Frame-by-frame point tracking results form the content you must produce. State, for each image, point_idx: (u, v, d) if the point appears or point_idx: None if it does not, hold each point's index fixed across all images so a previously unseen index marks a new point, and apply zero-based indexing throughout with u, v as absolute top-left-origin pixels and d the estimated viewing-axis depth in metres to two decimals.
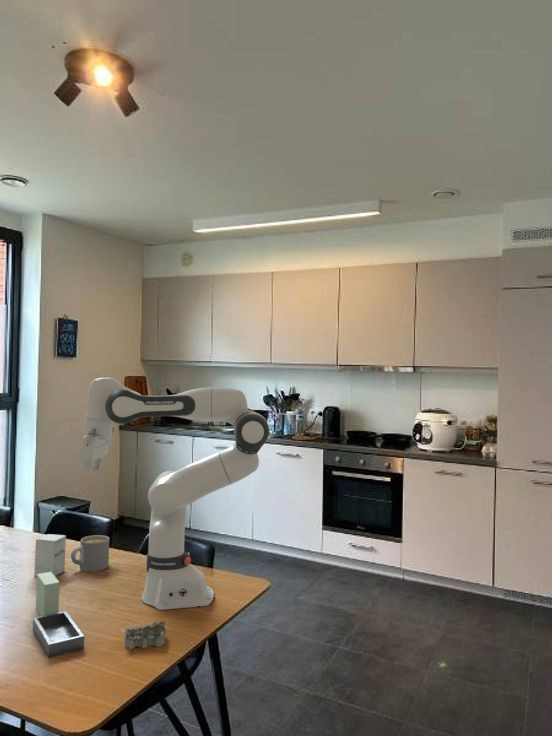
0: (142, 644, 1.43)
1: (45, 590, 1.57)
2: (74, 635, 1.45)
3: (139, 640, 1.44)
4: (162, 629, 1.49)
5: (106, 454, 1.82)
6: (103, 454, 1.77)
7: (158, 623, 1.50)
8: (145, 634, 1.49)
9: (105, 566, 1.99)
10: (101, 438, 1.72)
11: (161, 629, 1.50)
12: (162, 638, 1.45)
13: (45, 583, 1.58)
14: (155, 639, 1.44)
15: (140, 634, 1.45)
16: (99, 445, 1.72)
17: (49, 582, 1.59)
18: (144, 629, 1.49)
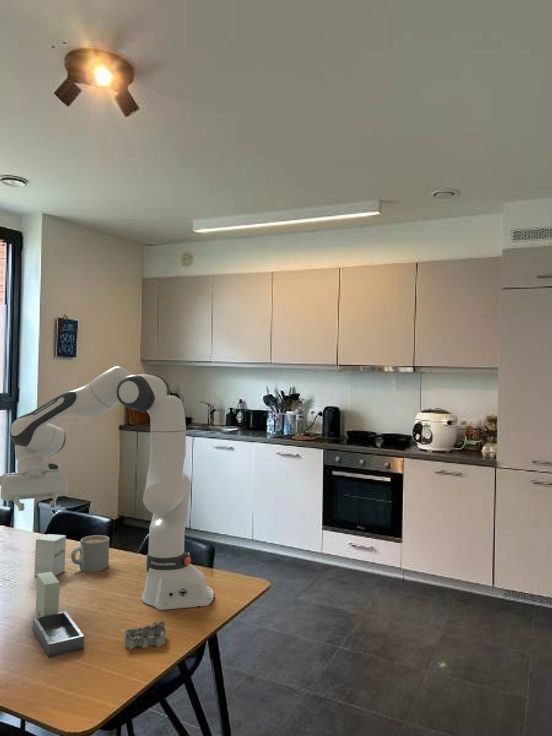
0: (142, 644, 1.43)
1: (45, 590, 1.57)
2: (74, 635, 1.45)
3: (139, 640, 1.44)
4: (162, 629, 1.49)
5: (63, 490, 1.83)
6: (49, 489, 1.80)
7: (158, 623, 1.50)
8: (145, 634, 1.49)
9: (105, 566, 1.99)
10: (26, 476, 1.80)
11: (161, 629, 1.50)
12: (162, 638, 1.45)
13: (45, 583, 1.58)
14: (155, 639, 1.44)
15: (140, 634, 1.45)
16: (29, 482, 1.79)
17: (49, 582, 1.59)
18: (144, 629, 1.49)
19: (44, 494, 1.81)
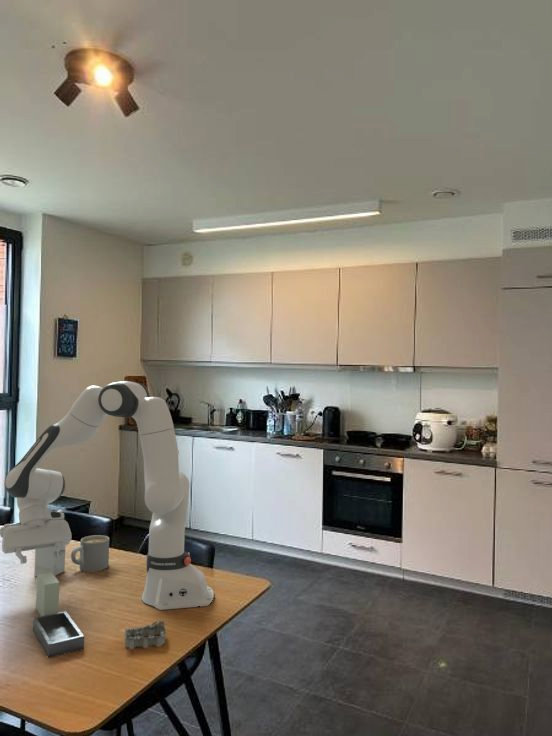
0: (142, 644, 1.43)
1: (45, 590, 1.57)
2: (74, 635, 1.45)
3: (140, 640, 1.44)
4: (162, 629, 1.50)
5: (66, 539, 1.78)
6: (51, 539, 1.76)
7: (158, 623, 1.50)
8: (145, 634, 1.49)
9: (105, 566, 1.99)
10: (28, 526, 1.75)
11: (161, 629, 1.50)
12: (162, 638, 1.45)
13: (45, 583, 1.58)
14: (155, 639, 1.44)
15: (140, 634, 1.45)
16: (32, 533, 1.75)
17: (49, 582, 1.59)
18: (144, 629, 1.49)
19: (47, 544, 1.76)
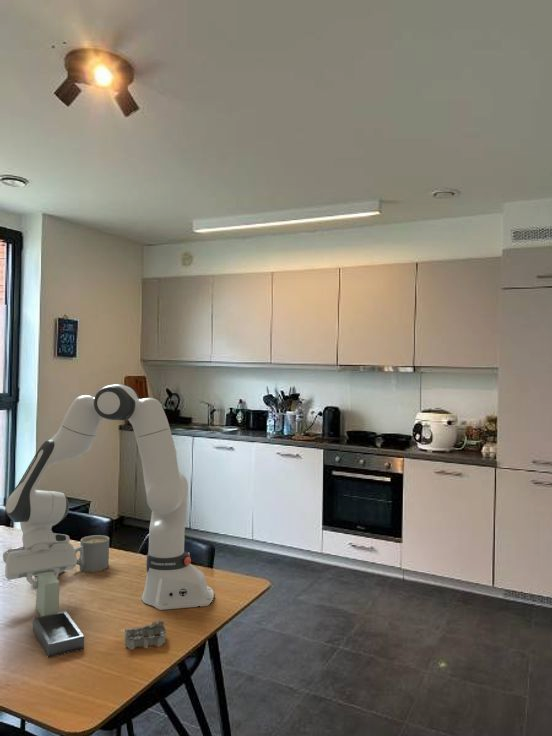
0: (143, 644, 1.43)
1: (45, 590, 1.57)
2: (74, 635, 1.45)
3: (140, 640, 1.44)
4: (161, 629, 1.50)
5: (72, 563, 1.72)
6: (56, 564, 1.69)
7: (157, 623, 1.50)
8: (144, 634, 1.49)
9: (105, 566, 1.99)
10: (33, 550, 1.69)
11: (160, 629, 1.50)
12: (163, 638, 1.45)
13: (45, 583, 1.58)
14: (156, 638, 1.44)
15: (140, 634, 1.45)
16: (36, 557, 1.68)
17: (49, 582, 1.59)
18: (143, 629, 1.49)
19: None
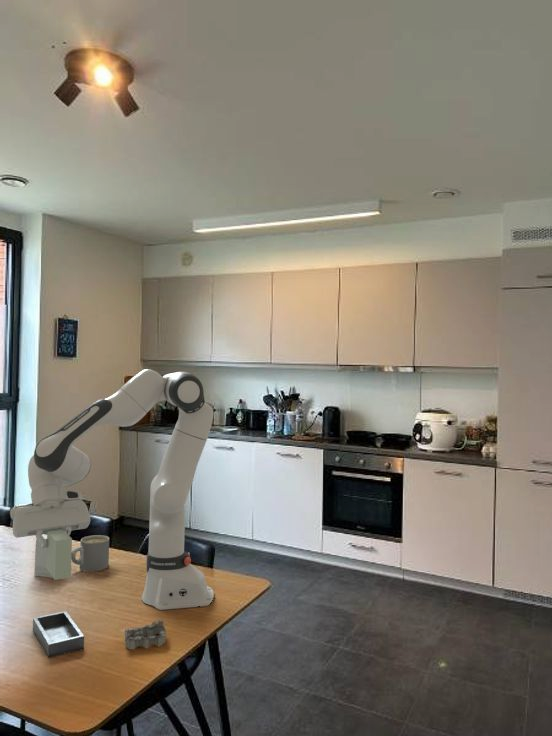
0: (143, 644, 1.43)
1: (56, 547, 1.43)
2: (74, 635, 1.45)
3: (140, 640, 1.44)
4: (161, 628, 1.50)
5: (85, 522, 1.58)
6: (68, 522, 1.55)
7: (157, 623, 1.50)
8: (144, 634, 1.49)
9: (105, 566, 1.99)
10: (42, 507, 1.55)
11: (160, 629, 1.50)
12: (163, 637, 1.45)
13: (56, 539, 1.44)
14: (156, 638, 1.44)
15: (141, 634, 1.45)
16: (46, 515, 1.54)
17: (61, 539, 1.45)
18: (143, 629, 1.49)
19: None
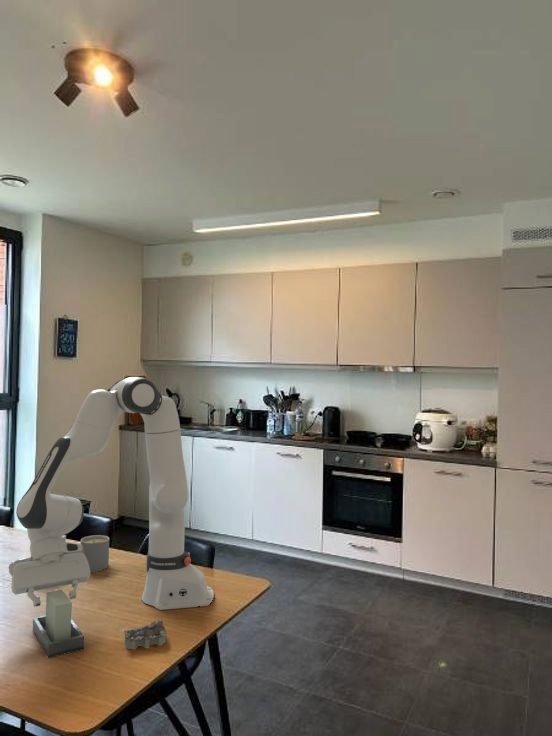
0: (144, 644, 1.43)
1: (56, 612, 1.41)
2: (74, 635, 1.45)
3: (141, 640, 1.43)
4: (161, 628, 1.50)
5: (85, 575, 1.56)
6: (68, 577, 1.53)
7: (157, 623, 1.50)
8: (143, 634, 1.49)
9: (105, 566, 1.99)
10: (42, 561, 1.53)
11: (160, 628, 1.50)
12: (163, 637, 1.45)
13: (56, 604, 1.42)
14: (156, 638, 1.45)
15: (141, 634, 1.45)
16: (45, 569, 1.52)
17: (61, 603, 1.43)
18: (142, 629, 1.49)
19: (62, 582, 1.54)
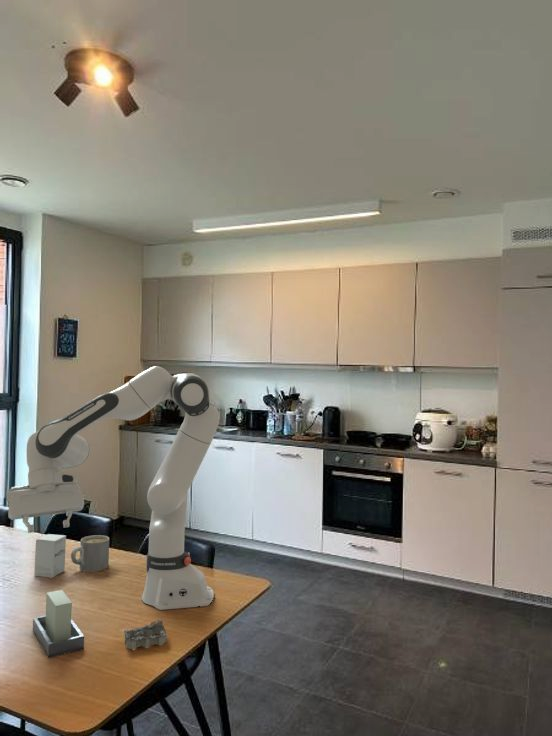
0: (144, 644, 1.43)
1: (56, 612, 1.41)
2: (74, 635, 1.45)
3: (141, 640, 1.43)
4: (161, 628, 1.50)
5: (78, 506, 1.62)
6: (62, 507, 1.60)
7: (156, 622, 1.50)
8: (143, 634, 1.49)
9: (105, 566, 1.99)
10: (37, 490, 1.59)
11: (159, 628, 1.50)
12: (164, 637, 1.45)
13: (56, 604, 1.42)
14: (157, 638, 1.45)
15: (141, 634, 1.45)
16: (41, 498, 1.59)
17: (61, 603, 1.43)
18: (142, 630, 1.49)
19: (57, 510, 1.61)
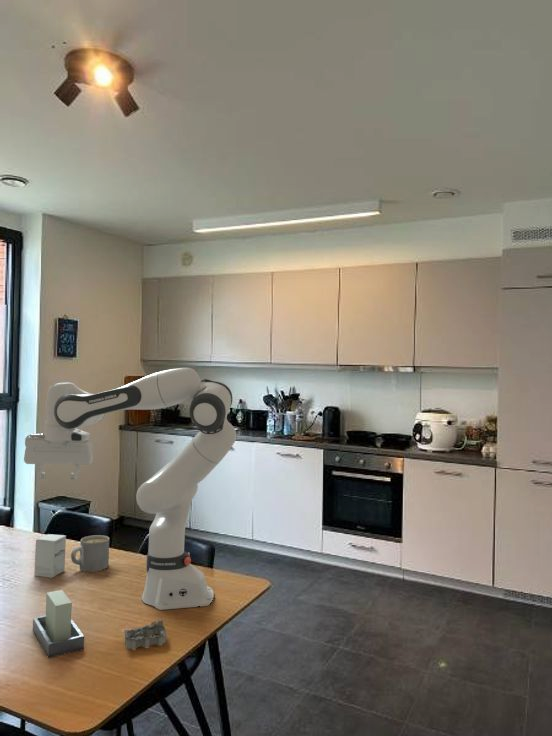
0: (144, 644, 1.43)
1: (56, 612, 1.41)
2: (74, 635, 1.45)
3: (141, 640, 1.43)
4: (161, 628, 1.50)
5: (84, 464, 1.72)
6: (69, 462, 1.71)
7: (157, 623, 1.50)
8: (144, 634, 1.49)
9: (105, 566, 1.99)
10: (49, 443, 1.71)
11: (160, 628, 1.50)
12: (163, 637, 1.45)
13: (56, 604, 1.42)
14: (157, 638, 1.45)
15: (141, 634, 1.45)
16: (52, 451, 1.71)
17: (61, 603, 1.43)
18: (143, 629, 1.49)
19: None
